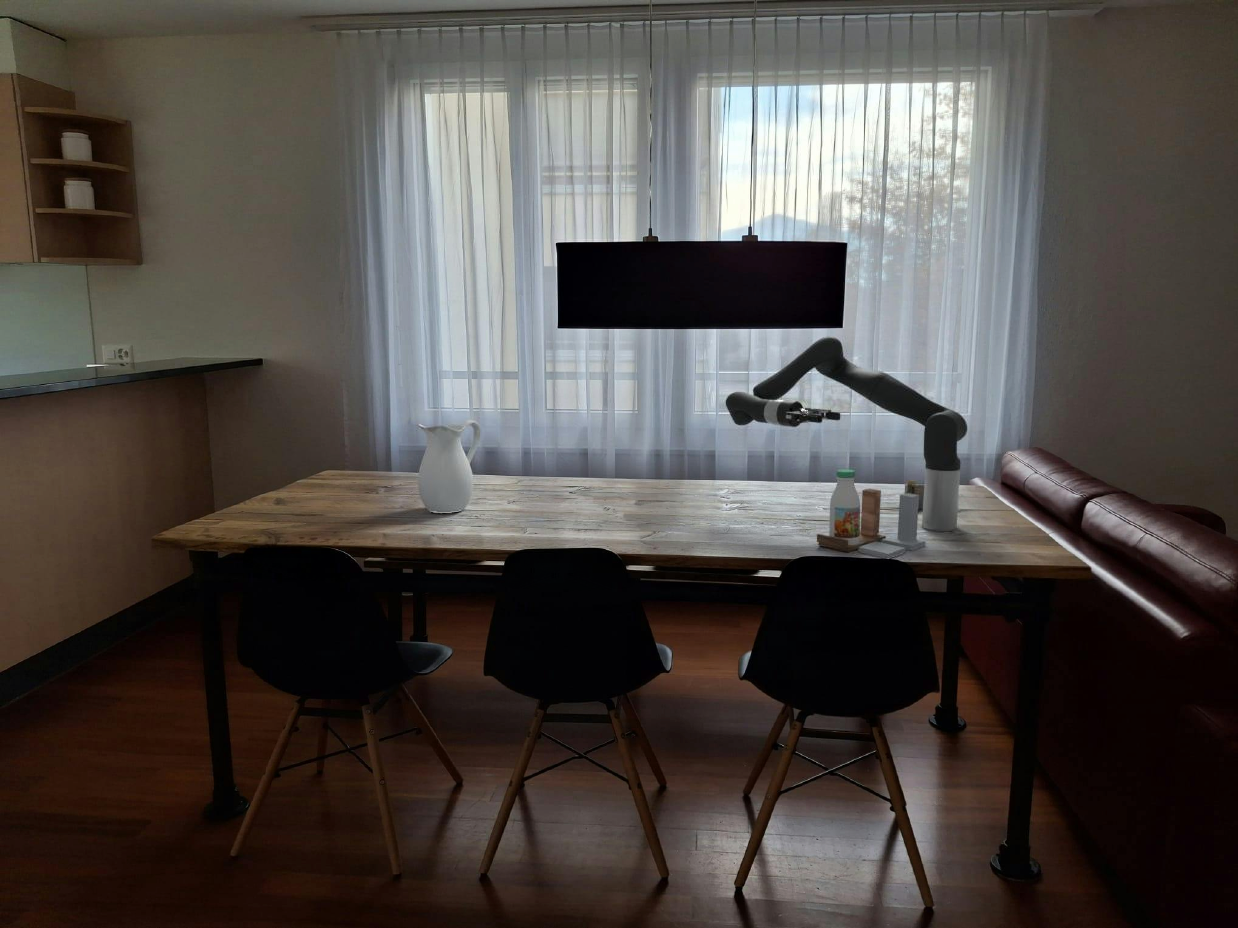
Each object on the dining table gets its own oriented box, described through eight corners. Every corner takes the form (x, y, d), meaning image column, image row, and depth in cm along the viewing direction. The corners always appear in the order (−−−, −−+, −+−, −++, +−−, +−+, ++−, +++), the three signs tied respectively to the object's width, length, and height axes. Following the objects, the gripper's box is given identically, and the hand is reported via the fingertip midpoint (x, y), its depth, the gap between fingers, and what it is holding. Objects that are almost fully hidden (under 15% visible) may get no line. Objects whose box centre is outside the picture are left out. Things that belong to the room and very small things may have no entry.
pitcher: (444, 519, 252) (440, 427, 248) (407, 511, 262) (403, 423, 258) (500, 505, 271) (498, 419, 266) (465, 498, 281) (462, 415, 276)
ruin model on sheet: (906, 509, 265) (908, 479, 263) (903, 507, 268) (905, 477, 266) (943, 510, 264) (945, 479, 263) (940, 508, 267) (942, 478, 266)
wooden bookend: (858, 532, 234) (860, 486, 232) (887, 538, 227) (890, 491, 225) (816, 545, 221) (818, 497, 219) (846, 552, 215) (848, 502, 212)
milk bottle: (823, 545, 221) (825, 471, 218) (838, 540, 227) (839, 466, 224) (850, 550, 216) (852, 474, 213) (864, 544, 222) (866, 469, 218)
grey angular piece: (895, 539, 228) (898, 491, 226) (924, 545, 222) (928, 496, 219) (858, 551, 216) (860, 501, 214) (888, 558, 210) (891, 506, 208)
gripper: (768, 401, 240) (816, 406, 228) (798, 398, 249) (846, 402, 237) (767, 427, 241) (815, 433, 229) (798, 423, 250) (844, 428, 238)
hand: (830, 417), depth 233 cm, fingers open, 8 cm apart
